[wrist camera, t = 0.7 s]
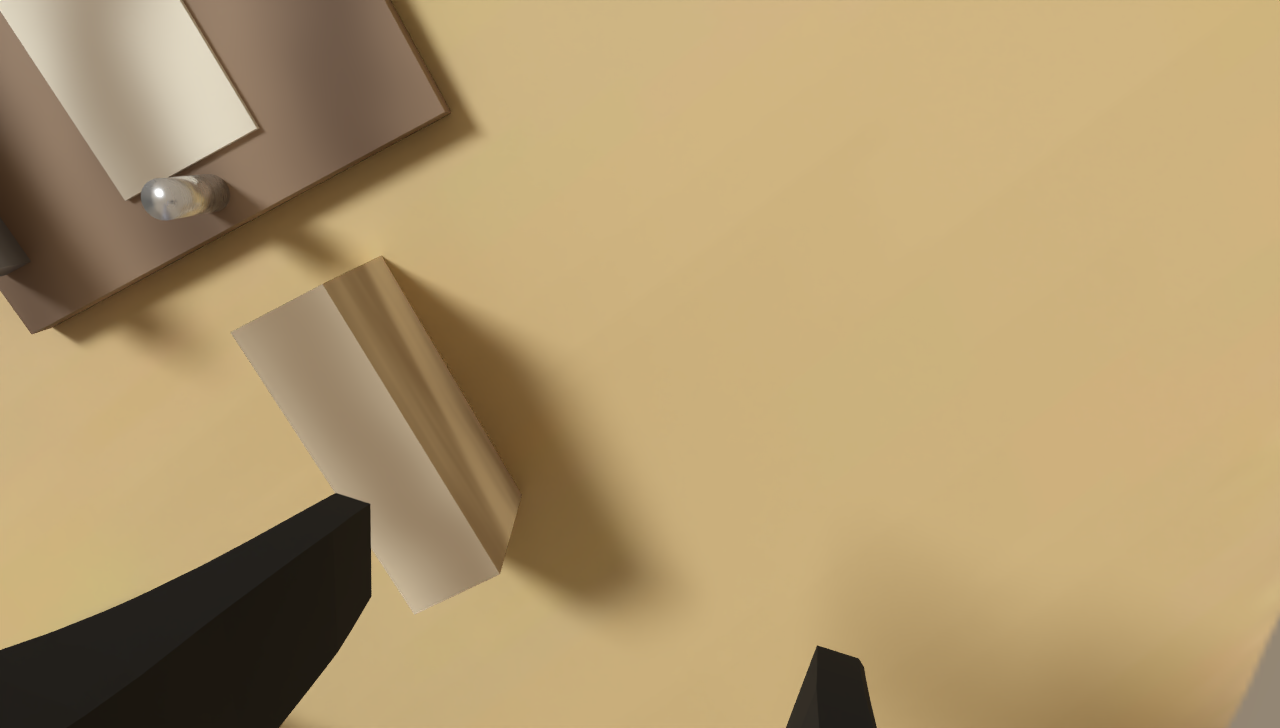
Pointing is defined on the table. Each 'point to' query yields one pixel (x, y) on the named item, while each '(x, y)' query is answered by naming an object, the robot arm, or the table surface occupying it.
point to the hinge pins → (184, 196)
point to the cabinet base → (180, 126)
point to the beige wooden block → (389, 430)
